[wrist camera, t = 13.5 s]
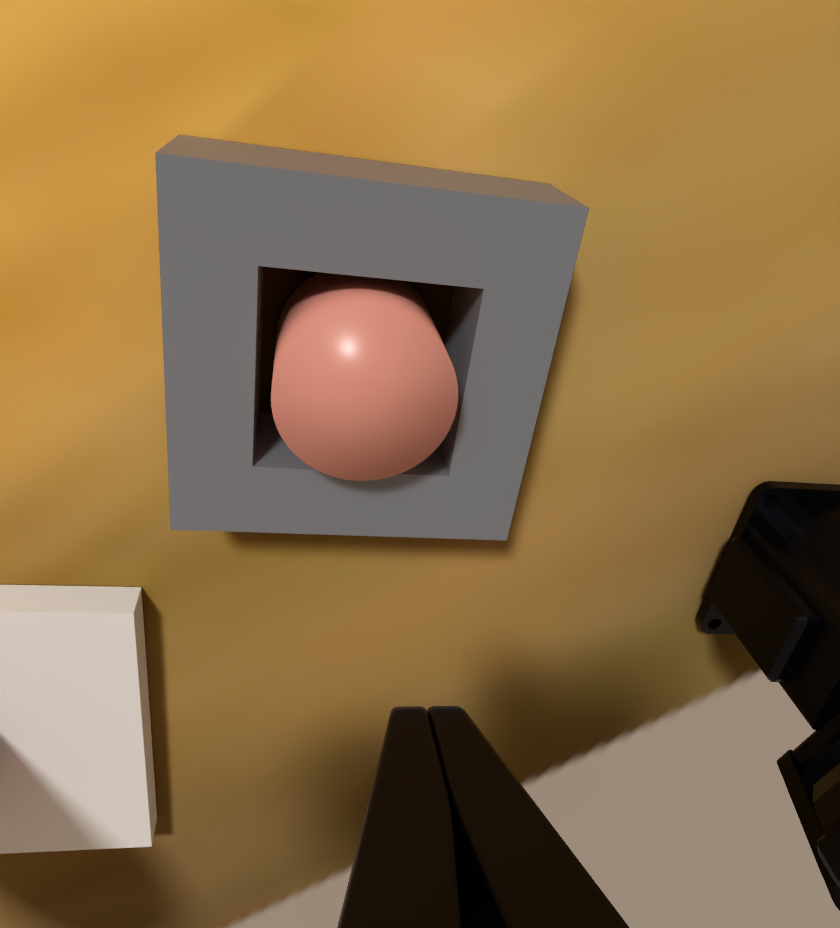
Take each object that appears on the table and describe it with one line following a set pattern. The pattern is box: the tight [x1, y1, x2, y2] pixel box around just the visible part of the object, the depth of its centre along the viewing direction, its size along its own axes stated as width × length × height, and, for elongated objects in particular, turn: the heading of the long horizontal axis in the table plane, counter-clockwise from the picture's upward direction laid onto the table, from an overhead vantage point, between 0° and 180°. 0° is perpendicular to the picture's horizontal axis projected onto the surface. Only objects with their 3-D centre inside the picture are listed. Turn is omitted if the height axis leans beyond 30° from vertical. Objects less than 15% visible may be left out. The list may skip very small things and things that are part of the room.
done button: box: [271, 272, 458, 481], centre depth 18 cm, size 4×4×4 cm
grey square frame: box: [156, 135, 589, 541], centre depth 18 cm, size 9×9×3 cm
